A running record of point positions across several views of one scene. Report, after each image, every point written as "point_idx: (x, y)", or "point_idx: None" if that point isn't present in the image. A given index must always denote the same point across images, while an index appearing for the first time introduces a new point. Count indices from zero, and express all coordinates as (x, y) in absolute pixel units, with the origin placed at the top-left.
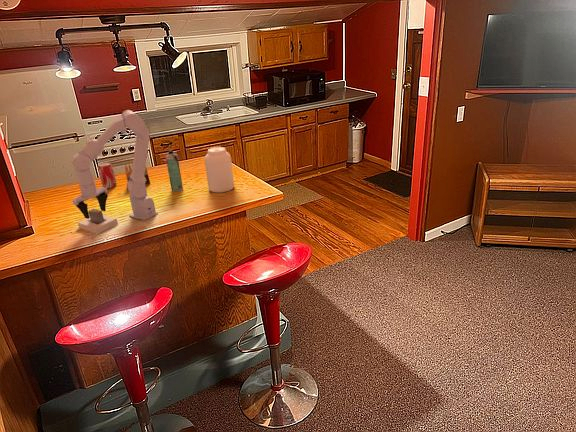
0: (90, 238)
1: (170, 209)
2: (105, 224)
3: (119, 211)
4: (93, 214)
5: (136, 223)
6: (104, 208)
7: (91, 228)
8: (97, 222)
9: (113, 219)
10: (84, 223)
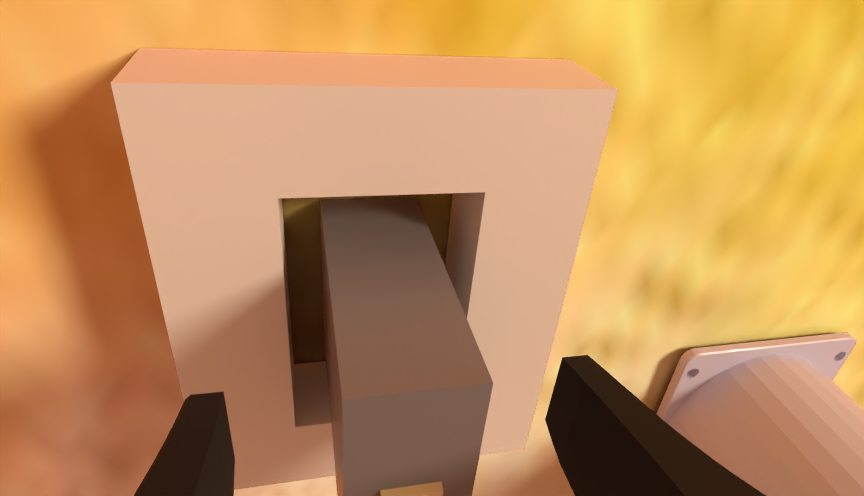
0: (97, 453)
1: None
2: None
3: (812, 135)
4: (338, 471)
5: (560, 490)
6: (575, 474)
7: None
8: (330, 391)
9: (491, 446)
10: (188, 252)
